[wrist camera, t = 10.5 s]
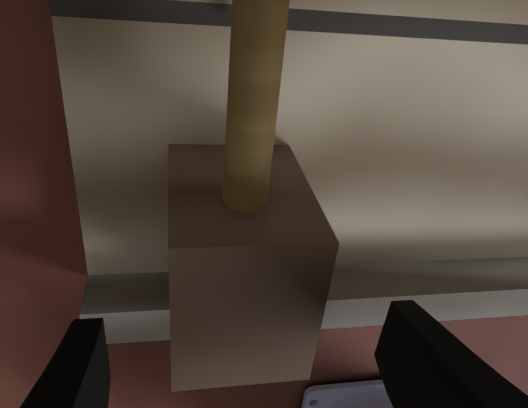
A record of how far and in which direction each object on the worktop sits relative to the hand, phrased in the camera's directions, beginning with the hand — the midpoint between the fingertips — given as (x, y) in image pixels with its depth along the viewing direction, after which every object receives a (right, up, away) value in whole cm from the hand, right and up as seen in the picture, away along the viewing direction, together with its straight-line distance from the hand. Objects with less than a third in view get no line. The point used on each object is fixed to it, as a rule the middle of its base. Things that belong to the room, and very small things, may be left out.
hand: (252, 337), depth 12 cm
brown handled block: (-1, +5, +4) cm, 6 cm away
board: (+8, +6, +7) cm, 12 cm away
